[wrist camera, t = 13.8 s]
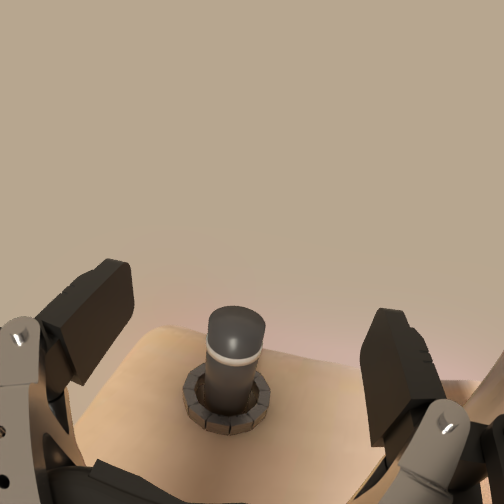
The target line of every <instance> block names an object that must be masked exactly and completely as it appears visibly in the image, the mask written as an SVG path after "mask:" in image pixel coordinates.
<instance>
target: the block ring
mask: <svg viewBox="0 0 504 504" xmlns="http://www.w3.org/2000/svg"><path fill="white" fill-rule="evenodd" d="M205 367H206V362H205V363H203V364H201V365H200V366H198V367H197V368H195V369H194V370H192V371H191V372H190V373H189V374H188V376H187V379H186V381H185V384H184V386H183V401H184V404H185V407H186V411H187V414H188V415H189V417H190V418H191V419H192V420H193V421H195V422H196V423H197V424H198V425H199V426H201V427H202V428H203V429H204V430H205V429H206V431H210V432H214V433H219V434H223V435H228V433H229V435H234V434H238V433H242V432H246V431H250V430H251V429H253V428H254V427H255V426H256V425H257V424H258V423H259V422H260V421H261V420H262V419H263V418H264V417H265V415H266V412H267V409H268V406H269V399H270V388H269V386H268V385H267V383H266V381H265V379H264V378H263V376H262V375H261V374H260V373H259V372H257V371H255V376H254V380H253V384H252V388H251V390H252V392H253V394H254V396H255V398H256V399H257V403H256V405H255V406H254V407H253V408H252V409H251V410H250V411H249V412H247V413H245V414H241V415H236V416H232V417H228V416H223V415H218V414H214V413H211V412H210V411H208V410H207V409H206V408H205V407H203V406H202V405H201V404H200V403H199V402H198V400H197V397H196V392H197V389H198V387H200V386H201V385H202V384H204V383H205Z"/></svg>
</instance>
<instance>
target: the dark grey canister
mask: <svg viewBox="0 0 504 504" xmlns="http://www.w3.org/2000/svg"><path fill="white" fill-rule="evenodd" d="M264 332H265V322H264V320H263V318H262V317H261V316H260V315H259V314H258V313H256V312H254V311H253V310H250V309H248V308H245V307H240V306H226V307H222V308H219V309H217V310H215V311H214V312H213V313H212V314H211V315H210V317H209V324H208V333H207V337H206V349H207V352H206V367H205V385H204V405H205V407H206V409H207V410H208V411H210V412H211V413H214V414H218V415H223V416H228V417H232V416H236V415H241V414H243V413H244V412H245V410H246V408H247V405H248V401H249V397H250V392H251V388H252V384H253V380H254V376H255V371H256V367H257V363H258V359H259V356H260V354H261V350H262V345H263V341H262V340H263V337H264Z"/></svg>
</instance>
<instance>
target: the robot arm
mask: <svg viewBox="0 0 504 504" xmlns="http://www.w3.org/2000/svg"><path fill="white" fill-rule="evenodd" d="M133 310H134V296H133V287H132V276H131V268H130V265H129V264H128V263H126V262H122V261H118V260H113V259H105V260H104V261H103V262H102V263H101V264H100V265H98V266H97V267H96V268H95V269H94V270H91V271H88V272H86V273H84V274H82V275H80V276H79V277H77V278H76V279H75V280H74V281H73V282H72V283H71V284H70V286H68V287H66V288H65V289H64V290H63V291H62V294H61V293H60V294H59V295H58V296H57V297H56V298H55V299H54V300H53V301H52V302H50V303H49V304H48V305H47V307H46V308H44V309H43V310H42V311H41V312H40V313H39V314H38V315H37V316H36V317H35V318H32V317H26V316H24V317H17V318H14V319H12V320H10V321H9V322H7V323H6V324H5V325H4V326H3V327H0V504H203V503H187V502H184V501H181V500H179V499H178V498H176V497H174V496H172V495H170V494H168V493H167V492H165V491H163V490H161V489H160V488H158V487H156V486H155V485H153V484H151V483H150V482H148V481H146V480H145V479H143V478H142V477H140V476H138V475H135V474H132V473H130V472H127V471H125V470H122V469H120V468H117V467H115V466H112V465H110V464H108V463H106V462H103V461H101V460H99V459H97V460H96V462H95V464H94V466H93V467H87V466H86V465H85V462H84V459H83V456H82V454H81V452H80V450H79V448H78V445H77V443H76V439H75V434H74V428H73V422H72V416H71V409H70V401H69V393H68V389H67V387H66V386H67V385H68V383H69V382H70V381H73V382H75V383H77V384H79V385H81V386H84V384H85V383H86V381H87V380H88V378H89V377H90V375H91V374H92V372H93V371H94V369H95V368H96V367H97V365H98V364H99V362H100V360H101V359H102V358H103V356H104V355H105V354H106V352H107V351H108V349H109V348H110V346H111V345H112V344H113V342H114V341H115V339H116V338H117V336H118V335H119V334H120V332H121V331H122V330H123V328H124V327H125V325H126V324H127V323H128V321H129V320H130V318H131V316H132V314H133ZM428 352H429V351H428V348H427V346H426V343H425V341H424V339H423V338H422V336H421V335H420V334H419V333H418V332H417V331H416V330H415V329H414V328H411V327H410V326H409V324H408V322H407V319H406V317H405V315H404V312H403V311H401V310H393V309H386V308H379V309H378V310H377V312H376V314H375V317H374V319H373V322H372V324H371V326H370V329H369V331H368V333H367V335H366V338H365V340H364V342H363V344H362V347H361V352H360V366H361V372H362V379H363V385H364V392H365V399H366V406H367V414H368V422H369V431H370V440H371V447H385V455H384V456H383V457H382V458H381V459H380V461H379V462H378V464H377V465H376V466H375V468H374V469H373V471H372V472H371V473H370V475H369V476H368V477H367V479H366V480H365V481H364V482H363V484H362V485H361V486H360V488H359V489H358V490H357V491H356V493H355V494H354V495H353V496H352V497H351V499H350V500H349V501H348V502H347V503H346V504H483V502H482V494H481V487H480V482H481V481H482V480H484V479H485V478H486V477H488V479H489V484H490V491H491V497H492V504H504V351H503V353H502V354H501V356H500V357H499V359H498V360H497V362H496V363H495V365H494V366H493V368H492V369H491V370H490V372H489V373H488V375H487V376H486V377H485V379H484V380H483V381H482V383H481V384H480V385H479V387H478V388H477V389H476V390H475V392H474V393H473V394H472V395H471V397H470V398H469V399H468V400H467V402H466V403H465V404H464V405H463V406H460V405H459V404H458V403H456V402H454V401H452V400H449V399H447V398H446V395H445V392H444V390H443V387H442V384H441V381H440V379H439V376H438V373H437V371H436V368H435V365H434V363H432V361H433V360H432V358H431V355H430V354H429V353H428ZM224 504H246V503H224Z"/></svg>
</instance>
